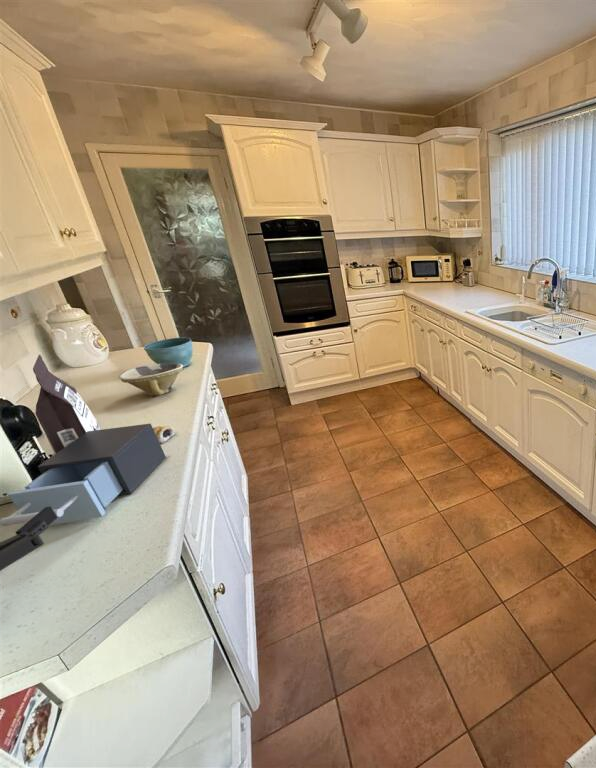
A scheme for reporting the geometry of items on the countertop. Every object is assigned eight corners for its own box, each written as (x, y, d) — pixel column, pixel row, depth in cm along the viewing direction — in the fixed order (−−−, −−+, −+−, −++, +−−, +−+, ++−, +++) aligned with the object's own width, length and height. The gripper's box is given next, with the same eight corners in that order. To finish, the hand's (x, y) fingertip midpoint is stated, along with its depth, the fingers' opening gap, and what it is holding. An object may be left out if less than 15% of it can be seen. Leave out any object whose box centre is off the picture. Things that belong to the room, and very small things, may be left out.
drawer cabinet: (131, 494, 94) (111, 456, 89) (61, 505, 91) (36, 466, 86) (166, 457, 108) (150, 423, 103) (106, 466, 105) (87, 431, 100)
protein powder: (108, 460, 107) (58, 364, 96) (62, 474, 102) (3, 374, 90) (107, 438, 118) (62, 349, 107) (65, 449, 113) (13, 358, 101)
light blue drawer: (82, 536, 80) (61, 502, 77) (5, 550, 77) (-21, 515, 74) (141, 476, 99) (126, 446, 95) (80, 485, 96) (62, 455, 92)
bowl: (189, 394, 146) (180, 370, 143) (125, 407, 137) (113, 382, 133) (192, 379, 160) (183, 357, 156) (134, 390, 151) (123, 367, 147)
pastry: (129, 445, 114) (124, 434, 112) (148, 433, 120) (143, 423, 119) (162, 444, 114) (157, 433, 112) (179, 432, 120) (175, 421, 119)
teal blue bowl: (196, 368, 171) (188, 344, 167) (149, 376, 164) (138, 351, 160) (201, 357, 184) (193, 335, 180) (157, 364, 177) (148, 341, 173)
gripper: (-31, 586, 55) (78, 490, 74) (-284, 633, 49) (-96, 517, 68) (-1, 621, 58) (96, 521, 77) (-237, 670, 52) (-69, 548, 71)
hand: (6, 519), depth 73 cm, fingers open, 13 cm apart
